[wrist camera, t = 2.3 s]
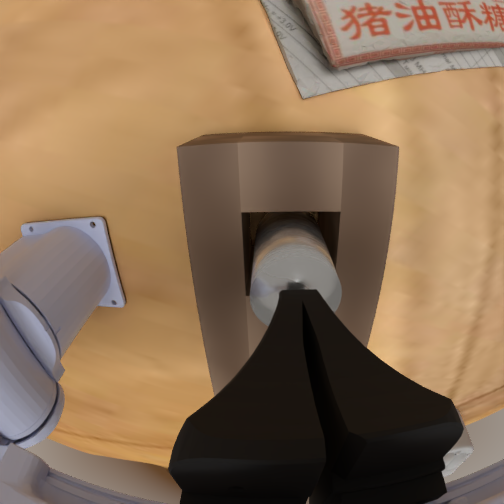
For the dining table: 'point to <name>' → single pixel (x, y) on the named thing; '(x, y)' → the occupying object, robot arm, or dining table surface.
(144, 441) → the dining table surface
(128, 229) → the dining table surface
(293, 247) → the grey metal peg
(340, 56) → the packaged product
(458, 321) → the dining table surface
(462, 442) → the lumpy-topped squat cylinder
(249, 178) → the walnut block
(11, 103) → the dining table surface
